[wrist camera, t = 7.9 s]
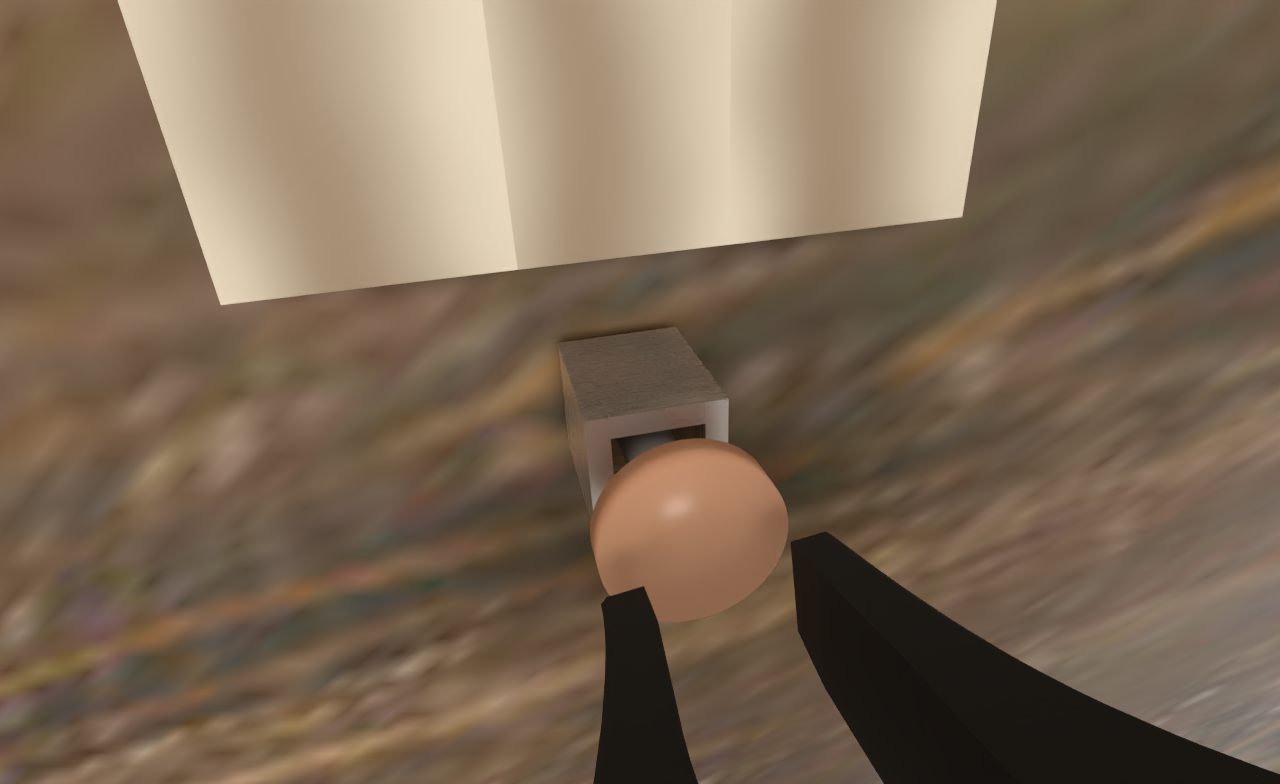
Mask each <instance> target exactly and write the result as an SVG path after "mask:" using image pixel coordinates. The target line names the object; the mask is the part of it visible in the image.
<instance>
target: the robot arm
mask: <svg viewBox="0 0 1280 784" xmlns="http://www.w3.org/2000/svg"><path fill="white" fill-rule="evenodd" d="M791 552H792V564H793V575H794V587H795V599H796V611H797V623H798V632H799V634H800V636H801V638H802V640H803V642H804V645H805V647H806V649H807V651H808V653H809V655H810V658H811V660H812V662H813V664H814V666H815V668H816V670H817V672H818V674H819V676H820V679H821V681H822V683H823V685H824V687H825V689H826V690H827V692H828V694H829V695H830V697H831V699H832V700H833V702H834V704H835V705H836V707H837V709H838V710H839V712H840V713H841V715H842V717H843V718H844V720H845V722H846V723H847V725H848V726H849V728H850V730H851V731H852V733H853V735H854V736H855V738H856V739H857V741H858V743H859V744H860V746H861V747H862V749H863V751H864V752H865V754H866V755H867V757H868V759H869V760H870V762H871V764H872V765H873V767H874V768H875V770H876V772H877V773H878V775H879V776H880V778H881V780H882V781H883V783H884V784H1280V774H1277V773H1274V772H1272V771H1269V770H1266V769H1263V768H1260V767H1258V766H1255V765H1252V764H1250V763H1247V762H1244V761H1242V760H1239V759H1236V758H1234V757H1231V756H1228V755H1226V754H1223V753H1220V752H1218V751H1215V750H1212V749H1210V748H1207V747H1205V746H1202V745H1199V744H1197V743H1194V742H1192V741H1190V740H1187V739H1185V738H1182V737H1180V736H1177V735H1175V734H1172V733H1170V732H1168V731H1166V730H1163V729H1161V728H1159V727H1156V726H1154V725H1152V724H1150V723H1147V722H1145V721H1143V720H1140V719H1138V718H1136V717H1133V716H1131V715H1129V714H1127V713H1124V712H1122V711H1120V710H1117V709H1115V708H1113V707H1110V706H1108V705H1106V704H1104V703H1102V702H1100V701H1097V700H1095V699H1093V698H1091V697H1089V696H1087V695H1085V694H1083V693H1081V692H1079V691H1077V690H1075V689H1073V688H1071V687H1069V686H1067V685H1065V684H1063V683H1061V682H1059V681H1057V680H1055V679H1053V678H1051V677H1049V676H1047V675H1046V674H1044V673H1042V672H1040V671H1038V670H1036V669H1034V668H1032V667H1031V666H1029V665H1027V664H1025V663H1023V662H1021V661H1020V660H1018V659H1016V658H1014V657H1013V656H1011V655H1009V654H1007V653H1006V652H1004V651H1002V650H1000V649H999V648H997V647H995V646H994V645H992V644H990V643H989V642H987V641H985V640H984V639H982V638H980V637H979V636H977V635H975V634H974V633H972V632H970V631H969V630H967V629H966V628H964V627H962V626H961V625H959V624H958V623H956V622H955V621H953V620H951V619H950V618H948V617H947V616H945V615H944V614H942V613H941V612H939V611H938V610H936V609H935V608H933V607H932V606H930V605H929V604H927V603H926V602H924V601H923V600H921V599H920V598H918V597H917V596H915V595H914V594H912V593H911V592H909V591H908V590H906V589H905V588H904V587H902V586H901V585H899V584H898V583H896V582H895V581H894V580H892V579H891V578H889V577H888V576H887V575H885V574H884V573H882V572H881V571H880V570H878V569H877V568H875V567H874V566H873V565H871V564H870V563H869V562H867V561H866V560H865V559H863V558H862V557H861V556H859V555H858V554H856V553H855V552H854V551H852V550H851V549H850V548H848V547H847V546H846V545H844V544H843V543H842V542H840V541H839V540H838V539H836V538H835V537H834V536H832V535H831V534H829V533H827V532H823V533H819V534H816V535H813V536H809V537H806V538H803V539H799V540H796V541H793V542H791ZM601 606H602V611H603V617H604V626H605V644H606V660H605V685H604V700H603V714H602V724H601V733H600V740H599V747H598V755H597V762H596V769H595V777H594V783H593V784H698V782H697V779H696V776H695V773H694V770H693V767H692V764H691V761H690V757H689V754H688V750H687V747H686V743H685V739H684V736H683V731H682V727H681V723H680V718H679V714H678V709H677V705H676V700H675V696H674V691H673V687H672V682H671V678H670V673H669V669H668V665H667V660H666V656H665V651H664V647H663V642H662V638H661V633H660V629H659V624H658V620H657V618H656V615H655V612H654V610H653V607H652V605H651V602H650V600H649V597H648V595H647V592H646V590H645V587H644V586H642V587H639V588H636V589H632V590H629V591H626V592H622V593H619V594H615V595H612V596H609V597H607V598H606V599H605V600H604V601H603V603H602V604H601Z"/></svg>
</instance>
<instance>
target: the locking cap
mask: <svg viewBox="0 0 1280 784" xmlns="http://www.w3.org/2000/svg"><path fill="white" fill-rule="evenodd" d="M616 439H617V441H618V444H619V446H620V449H621V451H622V454H623V456H624V459H625V461H626V465H625V466H624V467H623V468H621V469H620V470H619V471H618V472H617V473H616V474H615V475H614V476H613V477H612V479H611V480H610V481H609V482H608V484H607V485H606V486H605V488H604V489H603V491H602V493H601V494H600V496H599V498H598V500H597V502H596V504H595V507H594V510H593V514H592V517H591V524H590V539H591V545H592V549H593V553H594V557H595V560H596V564H597V567H598V571H599V575H600V578H601V580H602V583H603V586H604V587H605V589H606V591H607V592H608V594H609V595H610V596H612V595H615V594H619V593H622V592H626V591H629V590H632V589H636V588H639V587H642V586H644V587H645V590H646V592H647V595H648V597H649V600H650V602H651V605H652V607H653V610H654V612H655V615H656V618H657V620H658V621H660V622H686V621H692V620H697V619H701V618H705V617H709V616H711V615H714V614H717V613H719V612H722V611H724V610H726V609H728V608H730V607H732V606H733V605H735V604H737V603H739V602H740V601H742V600H743V599H744V598H746V597H747V596H749V595H750V594H751V593H752V592H753V591H755V590H756V589H757V588H758V587H759V586H760V585H761V584H762V583H763V582H764V581H765V580H766V579H767V577H768V576H769V575H770V573H771V572H772V571H773V569H774V568H775V566H776V565H777V563H778V561H779V559H780V557H781V555H782V553H783V550H784V548H785V544H786V541H787V535H788V514H787V509H786V506H785V503H784V501H783V498H782V497H781V495H780V493H779V491H778V490H777V489H776V487H775V486H774V484H773V483H772V481H771V480H770V479H769V477H768V476H767V474H766V473H765V471H764V470H763V468H762V467H761V466H760V465H759V463H758V462H757V461H756V460H755V459H754V458H753V457H752V456H751V455H749V454H748V453H747V452H745V451H744V450H742V449H740V448H739V447H737V446H734V445H732V444H730V443H726V442H723V441H719V440H713V439H699V438H693V439H684V440H678V441H676V440H675V438H674V436H673V434H672V433H671V431H670V429H669V430H663V431H657V432H651V433H645V434H639V435H633V436H627V437H621V438H616Z"/></svg>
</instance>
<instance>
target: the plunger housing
mask: <svg viewBox="0 0 1280 784" xmlns="http://www.w3.org/2000/svg"><path fill="white" fill-rule="evenodd" d="M558 351H559V360H560V369H561V378H562V388H563V397H564V406H565V415H566V424H567V433H568V442H569V448H570V452H571V455H572V459H573V462H574V466H575V469H576V473H577V476H578V480H579V483H580V487H581V490H582V494H583V497H584V501H585V504H586V508H587V511H588V515H589V518H590V522H591V517H592V514H593V510H594V507H595V504H596V502H597V500H598V498H599V496H600V494H601V493H602V491H603V489H604V488H605V486H606V485H607V484H608V482H609V481H610V480H611V479H612V477H613V476H614V475H615V474H616V473H617V472H618V471H619V470H620V469H621V468H623V467H624V466H625V465H626V461H625V459H624V456H623V454H622V451H621V449H620V446H619V444H618V441H617V439H616V438H621V437H627V436H633V435H639V434H645V433H651V432H657V431H663V430H669V429H670V431H671V433H672V434H673V436H674V438H675V440H676V441H678V440H684V439H693V438H699V439H713V440H719V441H723V442H726V443H728V413H729V399H728V397H727V396H726V394H725V393H724V392H723V390H722V389H721V388H720V386H719V385H718V384H717V382H716V381H715V380H714V378H713V377H712V375H711V374H710V373H709V371H708V370H707V369H706V367H705V366H704V365H703V363H702V362H701V361H700V359H699V358H698V356H697V355H696V354H695V352H694V351H693V350H692V348H691V347H690V346H689V344H688V343H687V342H686V340H685V339H684V337H683V336H682V335H681V333H680V332H679V331H678V329H677V328H676V327H669V328H662V329H655V330H648V331H640V332H633V333H626V334H619V335H612V336H604V337H597V338H590V339H583V340H575V341H568V342H561V343H558Z"/></svg>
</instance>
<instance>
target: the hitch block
mask: <svg viewBox="0 0 1280 784" xmlns="http://www.w3.org/2000/svg"><path fill="white" fill-rule="evenodd" d="M996 2H997V0H118V3H119V6H120V9H121V12H122V15H123V18H124V21H125V24H126V27H127V29H128V32H129V35H130V38H131V41H132V44H133V47H134V50H135V53H136V56H137V59H138V62H139V65H140V68H141V71H142V74H143V77H144V80H145V83H146V85H147V88H148V91H149V94H150V97H151V100H152V103H153V106H154V109H155V112H156V115H157V118H158V121H159V124H160V127H161V130H162V133H163V136H164V139H165V142H166V144H167V147H168V150H169V153H170V156H171V159H172V162H173V165H174V168H175V171H176V174H177V177H178V180H179V183H180V186H181V189H182V192H183V195H184V198H185V201H186V203H187V206H188V209H189V212H190V215H191V218H192V221H193V224H194V227H195V230H196V233H197V236H198V239H199V242H200V245H201V248H202V251H203V254H204V257H205V259H206V262H207V265H208V268H209V271H210V274H211V277H212V280H213V283H214V286H215V289H216V292H217V295H218V298H219V301H220V304H221V305H225V304H234V303H242V302H251V301H259V300H267V299H276V298H284V297H293V296H301V295H309V294H318V293H326V292H335V291H343V290H352V289H360V288H368V287H377V286H385V285H394V284H402V283H410V282H419V281H427V280H436V279H444V278H453V277H461V276H469V275H478V274H486V273H495V272H503V271H511V270H520V269H528V268H537V267H545V266H553V265H562V264H570V263H579V262H587V261H596V260H604V259H612V258H621V257H629V256H638V255H646V254H654V253H663V252H671V251H680V250H688V249H697V248H705V247H713V246H722V245H730V244H739V243H747V242H755V241H764V240H772V239H781V238H789V237H798V236H806V235H814V234H823V233H831V232H840V231H848V230H856V229H865V228H873V227H882V226H890V225H899V224H907V223H915V222H924V221H932V220H941V219H949V218H957V217H962V215H963V208H964V202H965V196H966V189H967V183H968V177H969V171H970V164H971V158H972V152H973V146H974V139H975V133H976V127H977V121H978V114H979V108H980V102H981V96H982V89H983V83H984V77H985V71H986V64H987V58H988V52H989V46H990V39H991V33H992V27H993V21H994V14H995V8H996Z"/></svg>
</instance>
